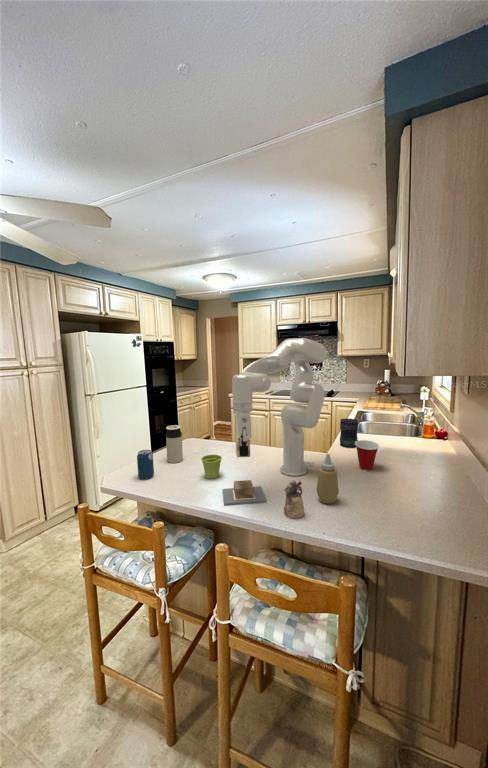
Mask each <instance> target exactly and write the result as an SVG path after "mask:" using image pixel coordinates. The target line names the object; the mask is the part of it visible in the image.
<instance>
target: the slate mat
mask: <svg viewBox="0 0 488 768" xmlns="http://www.w3.org/2000/svg"><path fill="white" fill-rule="evenodd" d="M253 488H254V498H243V499H235V494H234V487H231V488H222V499H223V505H224V506H235V505H251V504H261V503H263V504H264V503H267V499H266V495H265V493H264V491H263V487H262V486H261V485H259V486H257V485H256V486H253Z"/></svg>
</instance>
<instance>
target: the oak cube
mask: <svg viewBox="0 0 488 768" xmlns="http://www.w3.org/2000/svg"><path fill="white" fill-rule="evenodd" d="M247 438H248V456H240V449H239V446H240V438H238V437H236V438H235V455H236V457H237V458H251V440H250V438H249V437H247ZM242 440H243V439H242Z"/></svg>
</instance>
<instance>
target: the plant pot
mask: <svg viewBox="0 0 488 768" xmlns="http://www.w3.org/2000/svg"><path fill="white" fill-rule="evenodd" d="M222 459H223V457H222V455H219V454H206V455H204V456H202V457H201V458H200V461H202V465H203V471H204V475H205V478H206V479H208V480H209V479H210V480H214V479H216V478H217V479H218V478H219V477H220V470H221V469H220V468H221V462H222Z"/></svg>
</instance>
